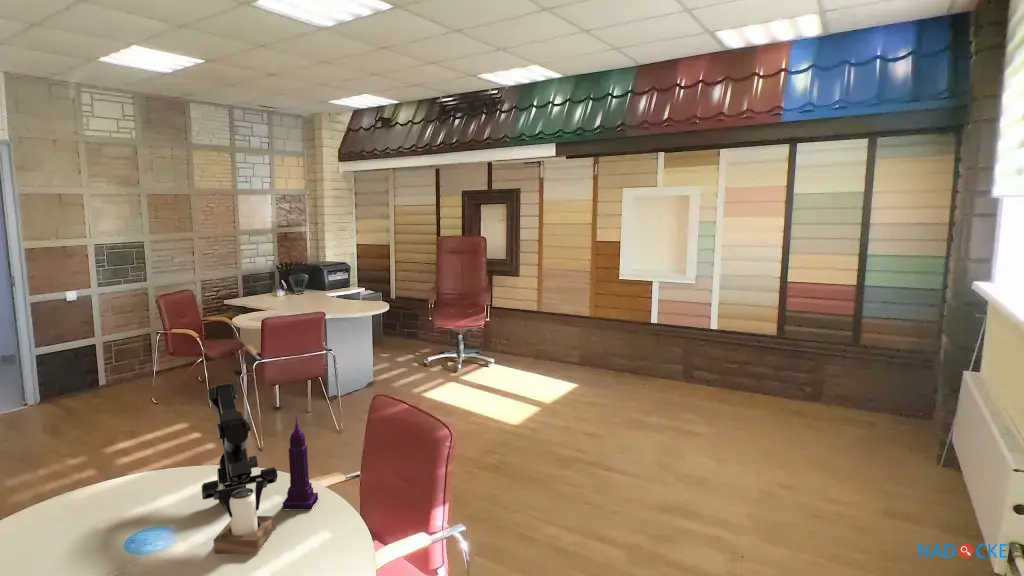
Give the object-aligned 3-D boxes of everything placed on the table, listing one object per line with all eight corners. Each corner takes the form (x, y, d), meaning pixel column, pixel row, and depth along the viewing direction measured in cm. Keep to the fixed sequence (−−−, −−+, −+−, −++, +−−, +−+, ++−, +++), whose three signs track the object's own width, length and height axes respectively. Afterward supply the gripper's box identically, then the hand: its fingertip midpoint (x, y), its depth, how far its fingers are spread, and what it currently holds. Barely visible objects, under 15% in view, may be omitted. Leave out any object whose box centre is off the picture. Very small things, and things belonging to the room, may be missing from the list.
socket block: (235, 528, 161) (234, 515, 161) (275, 529, 161) (274, 516, 161) (214, 553, 150) (213, 539, 149) (257, 553, 150) (256, 540, 149)
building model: (318, 499, 177) (314, 407, 173) (311, 510, 171) (306, 415, 166) (291, 498, 178) (285, 407, 173) (282, 510, 171) (276, 415, 166)
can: (259, 536, 154) (257, 495, 152) (233, 543, 151) (230, 501, 149) (255, 524, 160) (253, 484, 158) (230, 531, 156) (227, 491, 154)
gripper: (199, 455, 150) (205, 514, 143) (274, 440, 160) (284, 494, 152) (199, 471, 158) (205, 527, 151) (271, 455, 168) (280, 507, 160)
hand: (244, 513), depth 153 cm, fingers closed on can, 6 cm apart
